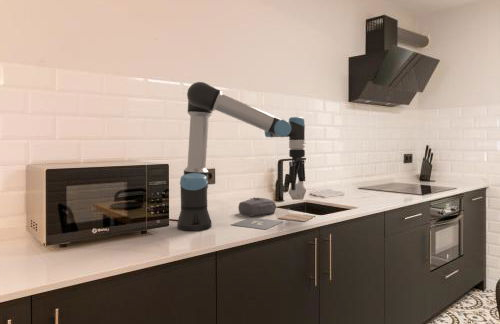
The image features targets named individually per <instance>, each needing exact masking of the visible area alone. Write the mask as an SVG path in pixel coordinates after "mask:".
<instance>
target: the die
mask: <svg viewBox="0 0 500 324" xmlns="http://www.w3.org/2000/svg"><path fill="white" fill-rule="evenodd" d="M296 183H297V197H291V186H290V187H289V189H288V195H289V196H290V198H291V200H293V201H295V200H296V201H298V200H302V201H303V200H304V198H305V195H306V192H307V189H306V187H305V186H304V183H303V184H302V183H298V182H296Z"/></svg>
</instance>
